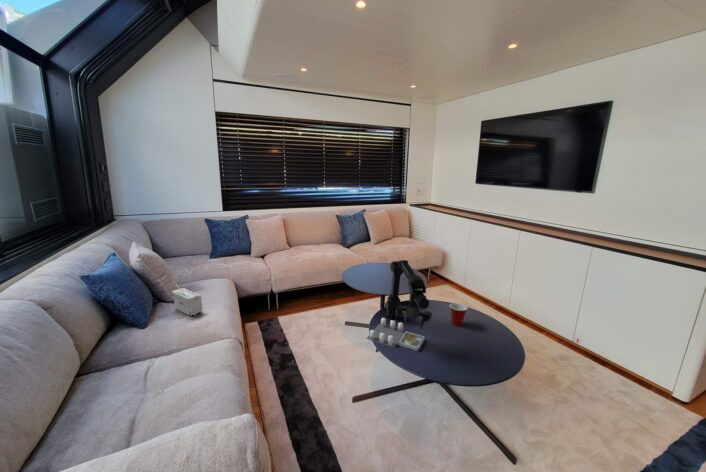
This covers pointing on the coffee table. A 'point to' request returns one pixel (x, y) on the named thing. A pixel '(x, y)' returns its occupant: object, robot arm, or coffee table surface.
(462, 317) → the plastic cup
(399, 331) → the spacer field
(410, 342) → the tan faceted polyhedron
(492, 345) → the coffee table surface
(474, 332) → the coffee table surface
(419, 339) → the nut tray
